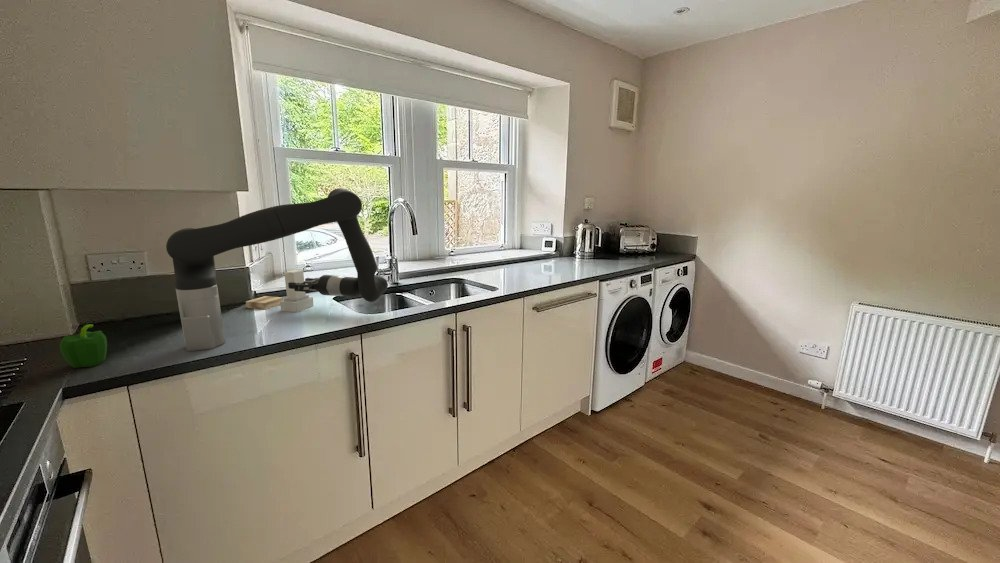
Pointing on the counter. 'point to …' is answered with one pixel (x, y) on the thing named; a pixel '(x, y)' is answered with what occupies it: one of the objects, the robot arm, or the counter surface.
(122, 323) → the counter surface
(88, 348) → the bell pepper
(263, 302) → the wooden slatted coaster
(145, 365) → the counter surface
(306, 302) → the beige rectangular block
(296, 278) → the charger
